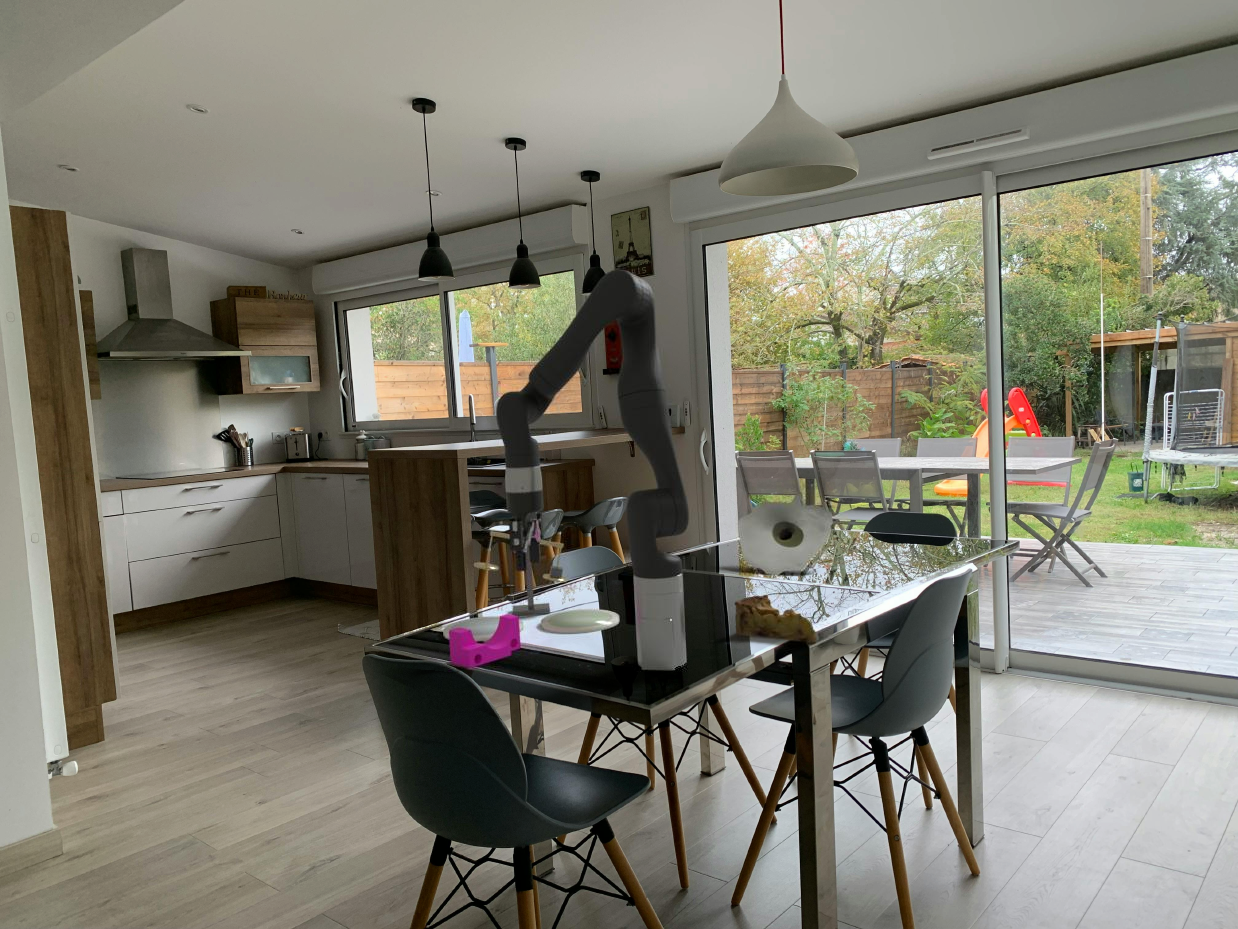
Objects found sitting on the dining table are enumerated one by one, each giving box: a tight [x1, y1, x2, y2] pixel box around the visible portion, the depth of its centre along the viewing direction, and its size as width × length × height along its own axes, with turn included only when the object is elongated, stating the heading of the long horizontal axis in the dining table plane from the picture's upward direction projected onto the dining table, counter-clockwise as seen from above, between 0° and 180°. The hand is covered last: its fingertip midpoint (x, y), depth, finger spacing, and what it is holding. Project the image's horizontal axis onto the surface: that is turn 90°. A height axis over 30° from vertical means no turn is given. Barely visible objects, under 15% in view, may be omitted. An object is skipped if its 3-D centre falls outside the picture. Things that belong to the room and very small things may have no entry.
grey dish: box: [442, 615, 524, 642], centre depth 199 cm, size 18×18×1 cm
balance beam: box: [473, 530, 568, 583], centre depth 214 cm, size 6×23×9 cm, turn 96°
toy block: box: [448, 613, 522, 669], centre depth 178 cm, size 15×6×8 cm, turn 137°
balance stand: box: [512, 543, 551, 617], centre depth 215 cm, size 6×9×17 cm, turn 96°
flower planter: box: [737, 491, 834, 576], centre depth 258 cm, size 16×30×28 cm
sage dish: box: [540, 608, 620, 634], centre depth 202 cm, size 18×18×1 cm
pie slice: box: [734, 594, 818, 644], centre depth 181 cm, size 18×10×8 cm, turn 40°
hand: (528, 566), depth 181 cm, fingers open, 8 cm apart
